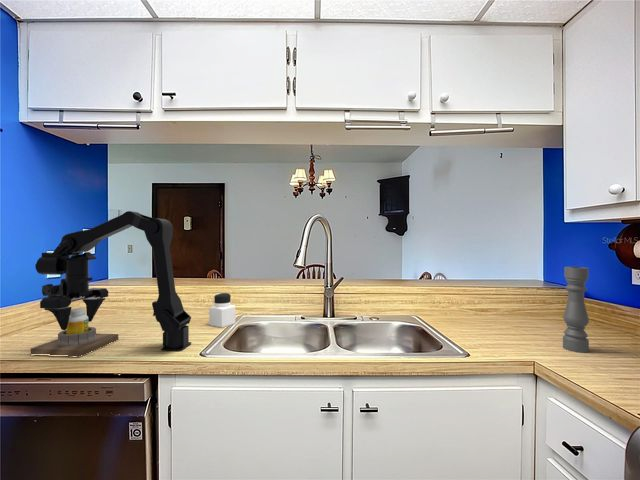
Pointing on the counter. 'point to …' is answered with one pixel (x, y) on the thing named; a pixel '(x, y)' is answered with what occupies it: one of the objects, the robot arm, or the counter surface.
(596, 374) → the counter surface
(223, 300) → the medicine bottle
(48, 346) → the brown base with ring
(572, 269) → the candle holder
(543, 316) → the counter surface
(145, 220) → the robot arm
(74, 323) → the supplement bottle
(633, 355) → the counter surface
